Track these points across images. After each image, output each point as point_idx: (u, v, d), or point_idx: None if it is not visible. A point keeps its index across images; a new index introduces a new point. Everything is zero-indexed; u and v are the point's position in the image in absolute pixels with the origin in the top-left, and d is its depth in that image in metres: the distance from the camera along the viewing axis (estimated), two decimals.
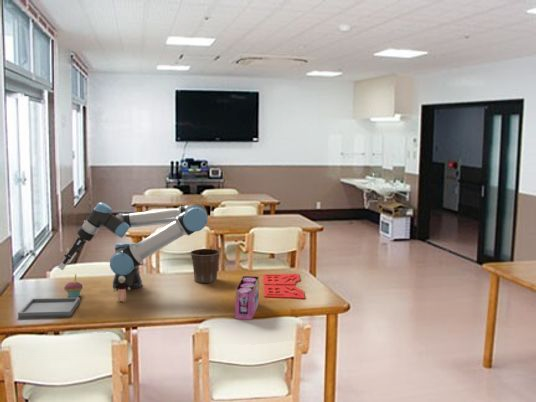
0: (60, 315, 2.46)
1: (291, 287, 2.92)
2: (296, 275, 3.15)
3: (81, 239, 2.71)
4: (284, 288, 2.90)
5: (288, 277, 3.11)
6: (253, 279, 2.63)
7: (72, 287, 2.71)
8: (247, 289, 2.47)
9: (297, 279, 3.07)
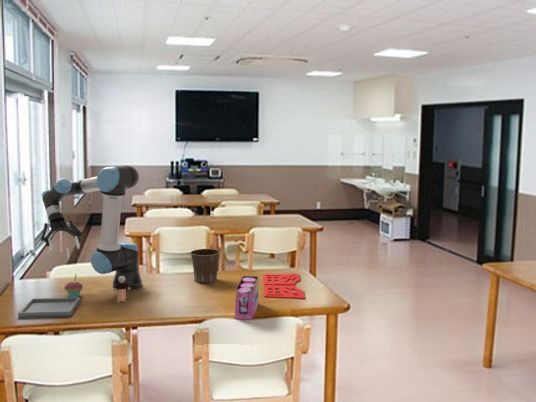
0: (60, 315, 2.46)
1: (291, 287, 2.92)
2: (296, 275, 3.15)
3: (50, 223, 2.86)
4: (284, 288, 2.90)
5: (288, 277, 3.11)
6: (253, 279, 2.63)
7: (72, 287, 2.71)
8: (247, 289, 2.47)
9: (297, 279, 3.07)
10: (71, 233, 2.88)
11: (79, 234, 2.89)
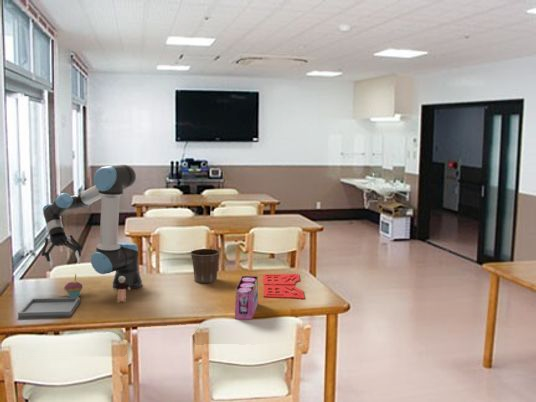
0: (60, 315, 2.46)
1: (291, 287, 2.92)
2: (296, 275, 3.15)
3: None
4: (284, 288, 2.90)
5: (288, 277, 3.11)
6: (252, 279, 2.63)
7: (72, 287, 2.71)
8: (247, 289, 2.47)
9: (297, 279, 3.07)
10: (72, 248, 2.88)
11: (80, 249, 2.89)
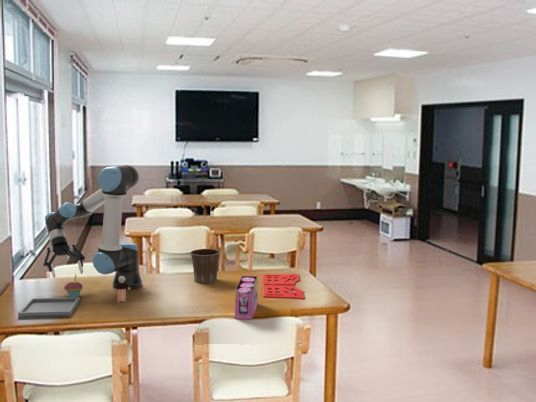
0: (60, 315, 2.46)
1: (291, 287, 2.92)
2: (296, 275, 3.15)
3: (52, 247, 2.83)
4: (284, 288, 2.90)
5: (288, 277, 3.11)
6: (252, 279, 2.63)
7: (72, 287, 2.71)
8: (247, 289, 2.47)
9: (297, 279, 3.07)
10: (74, 257, 2.85)
11: (82, 258, 2.86)
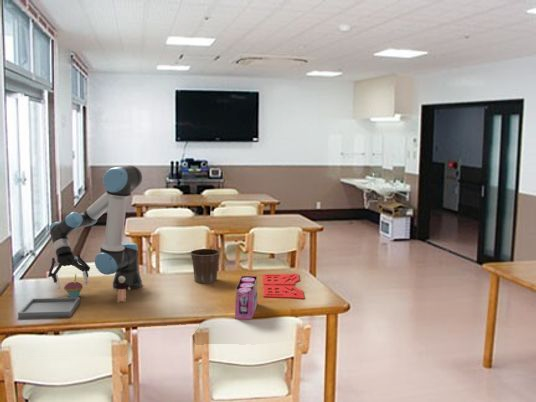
0: (60, 315, 2.46)
1: (290, 287, 2.92)
2: (295, 275, 3.15)
3: (57, 257, 2.79)
4: (283, 288, 2.90)
5: (287, 277, 3.11)
6: (252, 279, 2.63)
7: (72, 287, 2.71)
8: (247, 289, 2.47)
9: (296, 279, 3.07)
10: (79, 268, 2.81)
11: (87, 268, 2.82)
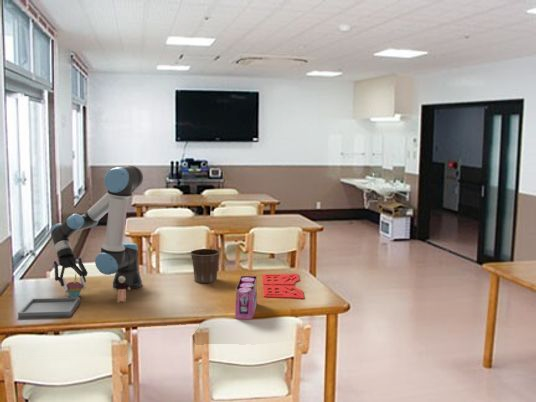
0: (60, 315, 2.46)
1: (290, 287, 2.92)
2: (295, 275, 3.15)
3: None
4: (283, 288, 2.90)
5: (287, 277, 3.11)
6: (251, 279, 2.63)
7: (72, 287, 2.71)
8: (247, 289, 2.47)
9: (296, 279, 3.07)
10: (77, 271, 2.79)
11: None
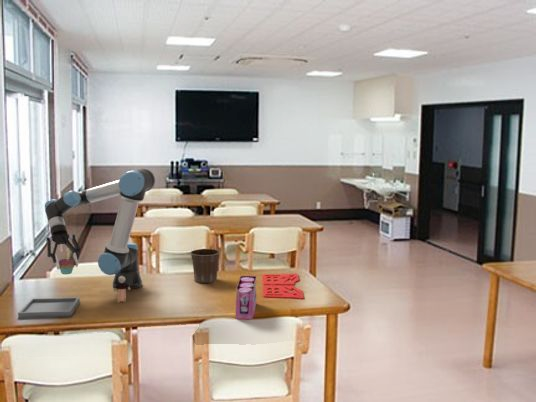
0: (60, 315, 2.46)
1: (290, 287, 2.92)
2: (295, 275, 3.15)
3: None
4: (283, 288, 2.90)
5: (287, 277, 3.11)
6: (251, 279, 2.63)
7: (64, 264, 2.67)
8: (247, 289, 2.47)
9: (296, 279, 3.07)
10: (70, 248, 2.74)
11: None
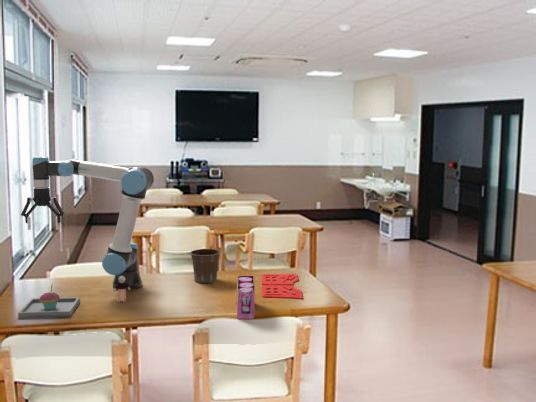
0: (60, 315, 2.46)
1: (289, 287, 2.92)
2: (294, 275, 3.15)
3: None
4: (282, 288, 2.90)
5: (286, 277, 3.11)
6: (249, 278, 2.64)
7: (48, 298, 2.50)
8: (248, 288, 2.48)
9: (295, 279, 3.07)
10: None
11: (60, 214, 2.79)
